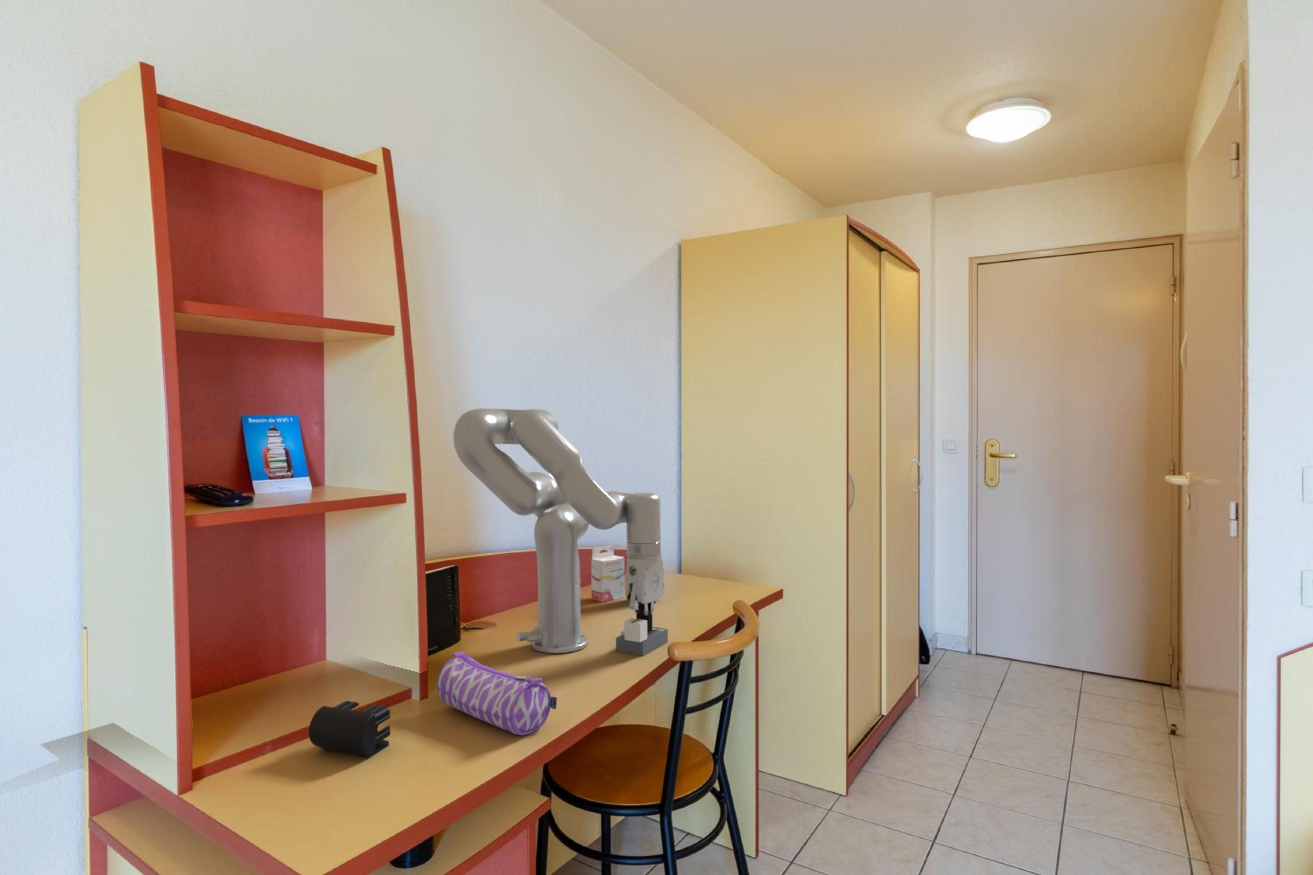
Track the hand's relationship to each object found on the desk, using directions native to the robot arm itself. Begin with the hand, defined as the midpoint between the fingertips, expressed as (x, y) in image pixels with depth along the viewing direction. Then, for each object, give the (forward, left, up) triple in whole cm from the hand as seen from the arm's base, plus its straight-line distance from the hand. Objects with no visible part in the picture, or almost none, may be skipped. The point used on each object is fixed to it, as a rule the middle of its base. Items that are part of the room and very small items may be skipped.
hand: (644, 630), depth 161 cm
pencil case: (-40, -20, -4) cm, 45 cm away
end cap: (-62, -21, -4) cm, 66 cm away
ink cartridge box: (+12, +45, -4) cm, 47 cm away
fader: (-3, -2, -1) cm, 4 cm away
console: (0, +2, -4) cm, 4 cm away
